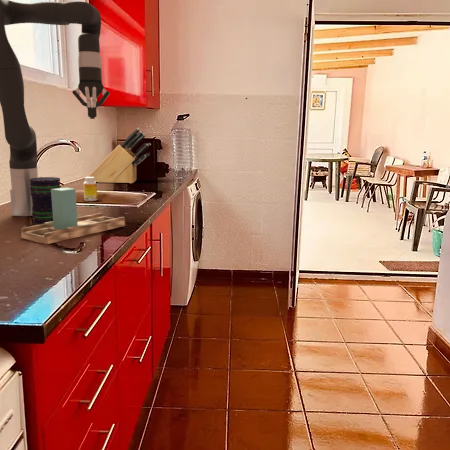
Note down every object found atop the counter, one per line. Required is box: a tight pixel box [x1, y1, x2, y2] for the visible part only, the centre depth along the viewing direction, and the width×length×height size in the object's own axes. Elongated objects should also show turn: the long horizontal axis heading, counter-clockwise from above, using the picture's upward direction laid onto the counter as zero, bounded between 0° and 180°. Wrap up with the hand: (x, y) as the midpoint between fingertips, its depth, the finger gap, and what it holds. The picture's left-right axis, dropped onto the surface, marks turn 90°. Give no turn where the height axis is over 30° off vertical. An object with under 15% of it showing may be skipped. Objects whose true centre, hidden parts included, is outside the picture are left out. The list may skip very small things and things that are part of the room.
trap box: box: [20, 212, 126, 245], centre depth 146 cm, size 30×12×3 cm, turn 145°
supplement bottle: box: [82, 176, 98, 202], centre depth 204 cm, size 6×6×10 cm
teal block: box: [51, 187, 78, 230], centre depth 141 cm, size 5×5×12 cm
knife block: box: [87, 127, 152, 184], centre depth 264 cm, size 11×35×31 cm, turn 89°
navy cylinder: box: [30, 176, 62, 225], centre depth 158 cm, size 10×10×15 cm
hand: (92, 118), depth 162 cm, fingers closed
